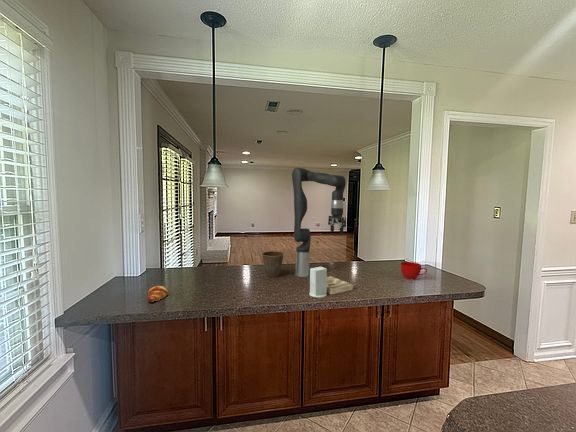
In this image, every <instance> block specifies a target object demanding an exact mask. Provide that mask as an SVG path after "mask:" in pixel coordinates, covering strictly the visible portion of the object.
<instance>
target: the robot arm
mask: <svg viewBox="0 0 576 432" xmlns="http://www.w3.org/2000/svg"><path fill="white" fill-rule="evenodd" d="M291 178H292V179H291V180H292V187H293V208H294V209H293V210H294V212H293V213H294V224H293V225H294V227H293V237H294V238H293V239H294V241H295V242H296V243H301V244H300V245H298V246H297V247H296V249H295V252H296V254H295V274H294V275H295V277H298V278H299V277H300V278H307V277H310V250H311V238H312V235H311V230H310V229H309V228H306V227H305V228H302V221H303V219H304V217H305V215H306V213H307V212H308V199H307V197H306V193H305V192H304V190H303V186H302V185H303V183H304V182H315V183H317V184H321V185H327V186H330V187H335V189H334V190H333V191H332V192H331V204H330V208H331V209H330V211H331V212H330V214H331V215H328V220H327V221H328V222H327V224H328V225H329V227H330V233H334V232H335V225H336V224H337V225H338V227H339V234H340V235H341V234H344V228H346V227H347V218H346V216H344V217H343V215H344V192H345V189H346V184H347V181H346V178H345V176H343V175H337V174H329V173H325V172H316V171H315V172H314V171H311V170H308V169H306V168H303V167H294V168H293V170H292V173H291ZM302 182H303V183H302Z"/></svg>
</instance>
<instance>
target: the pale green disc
mask: <svg viewBox="0 0 576 432" xmlns="http://www.w3.org/2000/svg"><path fill="white" fill-rule="evenodd" d="M327 295H328V293H325V294H321V295H317V296H315V295H313V294H311V293H310V292H309V296H310V297H312V298H318V299H319V298H325V297H327Z"/></svg>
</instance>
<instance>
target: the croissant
mask: <svg viewBox="0 0 576 432" xmlns="http://www.w3.org/2000/svg"><path fill="white" fill-rule="evenodd" d="M168 294H169V292H168V290H167V288H166V286H163V285H156V286H153V287H150V288H149V290H148V292H147V300H148V302H150V303H155V302H154V301H156V302H159V301H161V300H163V299H164V298H165V297H167V295H168ZM160 299H161V300H160Z"/></svg>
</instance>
